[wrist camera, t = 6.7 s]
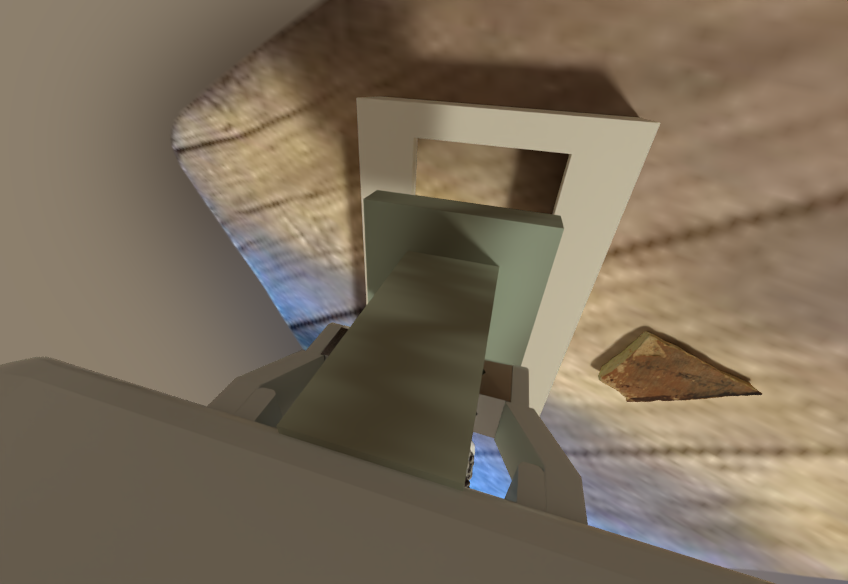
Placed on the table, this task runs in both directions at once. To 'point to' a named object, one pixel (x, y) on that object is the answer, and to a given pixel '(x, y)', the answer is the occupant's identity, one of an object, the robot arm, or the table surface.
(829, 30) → the table surface
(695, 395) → the shard
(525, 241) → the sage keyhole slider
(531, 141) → the keyhole plate
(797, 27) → the table surface
